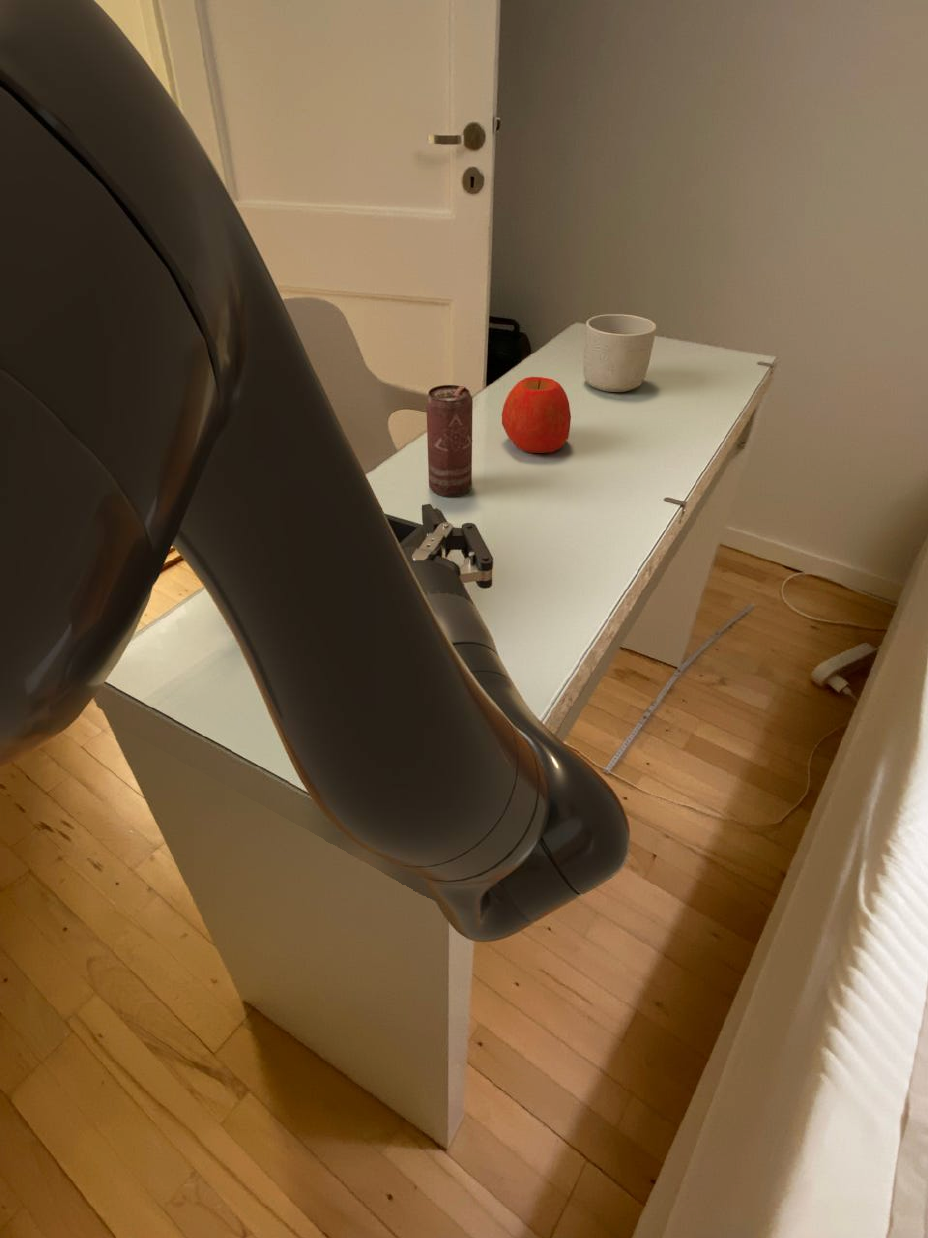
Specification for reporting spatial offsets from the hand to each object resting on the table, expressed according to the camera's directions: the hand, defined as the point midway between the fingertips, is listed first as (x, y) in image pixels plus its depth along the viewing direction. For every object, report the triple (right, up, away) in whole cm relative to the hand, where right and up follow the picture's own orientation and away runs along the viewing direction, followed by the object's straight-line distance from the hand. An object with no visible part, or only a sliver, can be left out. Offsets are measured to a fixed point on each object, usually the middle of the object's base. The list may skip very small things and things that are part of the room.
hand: (377, 520), depth 58 cm
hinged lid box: (-6, -5, +20) cm, 22 cm away
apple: (+19, +19, +50) cm, 57 cm away
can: (+6, +10, +39) cm, 41 cm away
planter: (+35, +36, +70) cm, 86 cm away
